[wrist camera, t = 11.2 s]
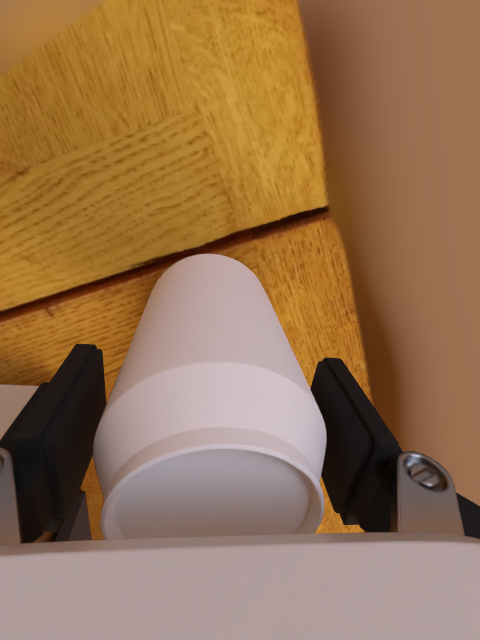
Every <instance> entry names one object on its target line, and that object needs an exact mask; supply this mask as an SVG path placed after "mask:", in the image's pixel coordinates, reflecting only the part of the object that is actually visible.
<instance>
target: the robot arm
mask: <svg viewBox="0 0 480 640" xmlns="http://www.w3.org/2000/svg"><path fill="white" fill-rule="evenodd" d="M310 390H311V392H312V394H313V397H314V399H315V401H316V403H317V405H318V408H319V410H320V412H321V414H322V417H323V420H324V423H325V427H326V436H327V441H326V451H325V456H324V462H323V467H322V473H321V476H322V479H323V482H324V485H325V487H326V490H327V493H328V495H329V498H330V501H331V504H332V506H333V509H334V511H335V512H336V513H340V516H341V519H342V521H343V524H344V525H360V528H362V529H363V530H364V532H363V533H328V534H283V535H245V536H210V537H175V538H145V539H115V540H85V541H63V542H43V543H33V542H34V541H35V540H37V539H38V538H40V537H41V536H42V535H43V533H44V532H57V530H58V528H59V525H60V522H61V520H62V518H68V517H69V515H70V513H71V511H72V508H73V506H74V503H75V500H76V498H77V495H78V492H79V490H80V487H81V484H82V482H83V479H84V476H85V474H86V471H87V468H88V466H89V463H90V461H91V458H92V455H93V444H94V438H95V434H96V431H97V428H98V425H99V422H100V420H101V417H102V415H103V412H104V410H105V407H106V395H105V381H104V367H103V353H102V350H101V349H97V347H96V345H91V344H76V345H75V346H74V348H73V349H72V351H71V352H70V353H69V355H68V356H67V358H66V359H65V361H64V362H63V364H62V365H61V366H60V368H59V369H58V371H57V372H56V374H55V375H54V377H53V378H52V379H51V381H50V382H44V383H42V384H41V385H40V386H39V387H38V388H37V390H36V391H35V393H34V394H33V395H32V397H31V398H30V399H29V401H28V402H27V404H26V405H25V406H24V408H23V409H22V410H21V412H20V413H19V415H18V416H17V417H16V419H15V420H14V421H13V423H12V424H11V426H10V427H9V428H8V430H7V431H6V433H5V434H4V435H3V437H2V438H1V439H0V640H480V506H478V505H477V504H475V503H473V502H471V501H470V500H468V499H466V498H465V497H463V496H461V495H459V494H458V493H456V491H455V487H454V483H453V480H452V478H451V476H450V475H449V473H448V472H447V470H446V469H444V467H443V466H441V465H440V464H439V463H438V462H437V461H435V460H433V459H432V458H430V457H428V456H426V455H424V454H421V453H418V452H413V451H407V452H403V451H402V450H401V448H400V446H399V445H398V444H399V443H398V442H397V440H396V439H395V437H394V436H393V434H392V433H391V431H390V430H389V429H388V427H387V426H386V424H385V423H384V421H383V420H382V418H381V417H380V415H379V414H378V412H377V411H376V409H375V408H374V406H373V405H372V404H371V402H370V401H369V399H368V398H367V396H366V395H365V393H364V392H363V390H362V389H361V387H360V386H359V384H358V383H357V381H356V380H355V379H354V377H353V376H352V374H351V373H350V371H349V370H348V368H347V367H346V365H345V364H344V362H343V361H342V360H341V359H339V358H324V359H323V360H322V361H319V362H318V364H317V368H316V371H315V375H314V378H313V382H312V385H311V389H310Z"/></svg>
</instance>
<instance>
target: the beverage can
mask: <svg viewBox="0 0 480 640" xmlns="http://www.w3.org/2000/svg"><path fill="white" fill-rule="evenodd" d="M326 441H327V436H326V427H325V423H324V420H323V417H322V414H321V412H320V410H319V408H318V405H317V403H316V401H315V399H314V397H313V394H312V392H311V390H310V388H309V386H308V383H307V381H306V379H305V377H304V375H303V372H302V370H301V368H300V366H299V364H298V362H297V359H296V357H295V355H294V353H293V351H292V348H291V346H290V344H289V342H288V340H287V337H286V335H285V333H284V331H283V329H282V327H281V324H280V322H279V320H278V318H277V316H276V314H275V311H274V309H273V307H272V305H271V303H270V301H269V298H268V296H267V294H266V292H265V290H264V288H263V286H262V284H261V283H260V281H259V280H258V278H257V277H256V276H255V274H254V273H253V272H252V271H251V270H250V269H248V268H247V267H246V266H245V265H243V264H242V263H240V262H238V261H237V260H235V259H232V258H230V257H227V256H223V255H218V254H199V255H194V256H190V257H187V258H184V259H182V260H180V261H178V262H176V263H175V264H173V265H172V266H171V267H169V268H168V269H167V270H166V271H165V272H164V273H163V274H162V275H161V276H160V278H159V279H158V281H157V282H156V284H155V286H154V288H153V290H152V292H151V294H150V297H149V299H148V302H147V304H146V307H145V309H144V311H143V314H142V316H141V319H140V322H139V324H138V327H137V329H136V332H135V334H134V337H133V339H132V342H131V344H130V347H129V349H128V352H127V354H126V357H125V359H124V362H123V364H122V367H121V369H120V372H119V374H118V377H117V379H116V382H115V384H114V387H113V389H112V392H111V395H110V397H109V400H108V402H107V405H106V407H105V410H104V412H103V415H102V417H101V420H100V422H99V425H98V428H97V431H96V434H95V438H94V444H93V457H94V464H95V468H96V472H97V475H98V479H99V483H100V487H101V490H102V494H103V498H104V501H105V502H104V505H103V509H102V513H101V530H102V534H103V537H104V540H115V539H145V538H175V537H210V536H245V535H283V534H314V533H315V532H316V530H317V529H318V527H319V525H320V523H321V520H322V517H323V513H324V496H323V492H322V489H321V486H320V478H321V473H322V467H323V462H324V456H325V451H326Z"/></svg>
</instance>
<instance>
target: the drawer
mask: <svg viewBox="0 0 480 640" xmlns="http://www.w3.org/2000/svg"><path fill="white" fill-rule="evenodd" d="M38 387H39V386H28V385H2V384H0V439H1V438H2V437H3V435H4V434H5V433H6V431H7V430H8V428H9V427H10V426H11V424H12V423H13V421H14V420H15V419H16V417H17V416H18V415H19V413H20V412H21V410H22V409H23V408H24V406H25V405H26V404H27V402H28V401H29V399H30V398H31V397H32V395H33V394H34V393H35V391H36V390H37V388H38ZM61 525H62V520H61V522H60V525H59V528H58V530H57V532H44V533H43V535H42V536H41V537H40V538H38V539H37V540H35V541H34V542H33V543H43V542H55V540H56V537H57V535H58V532H59V530H60V527H61Z"/></svg>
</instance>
